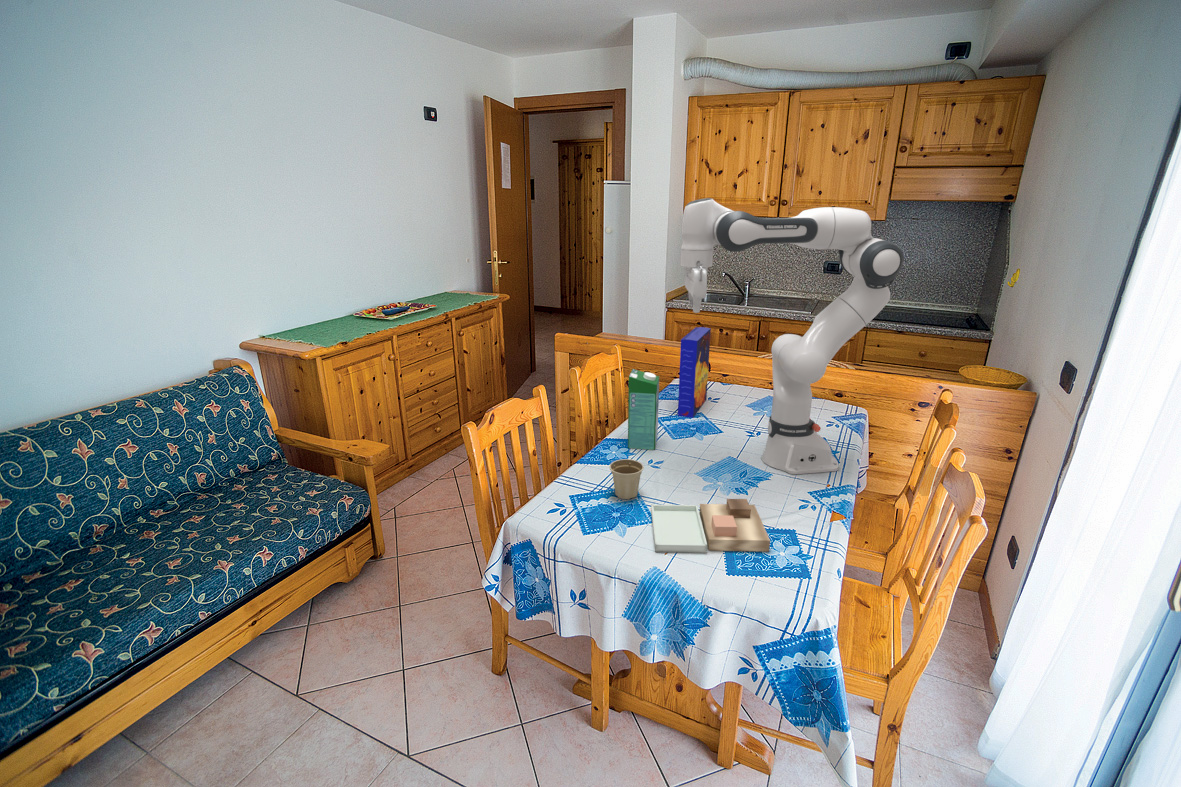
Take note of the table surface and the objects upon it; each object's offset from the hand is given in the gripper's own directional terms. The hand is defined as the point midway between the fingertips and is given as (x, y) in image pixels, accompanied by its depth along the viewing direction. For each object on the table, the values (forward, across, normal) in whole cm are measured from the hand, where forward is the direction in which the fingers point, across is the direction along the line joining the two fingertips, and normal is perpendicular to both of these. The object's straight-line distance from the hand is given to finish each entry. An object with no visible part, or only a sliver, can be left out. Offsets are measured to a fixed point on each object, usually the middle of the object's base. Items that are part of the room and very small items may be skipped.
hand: (694, 309), depth 160 cm
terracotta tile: (+45, -44, -4) cm, 63 cm away
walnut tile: (+45, -36, -9) cm, 58 cm away
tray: (+48, -40, +7) cm, 63 cm away
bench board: (+48, -40, -7) cm, 63 cm away
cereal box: (+48, +47, -8) cm, 68 cm away
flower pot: (+48, -22, +19) cm, 56 cm away
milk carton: (+48, +12, +13) cm, 51 cm away
